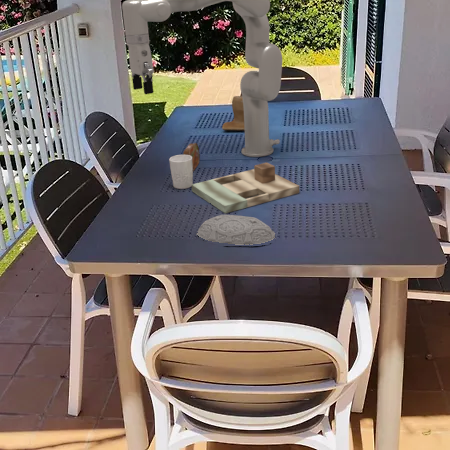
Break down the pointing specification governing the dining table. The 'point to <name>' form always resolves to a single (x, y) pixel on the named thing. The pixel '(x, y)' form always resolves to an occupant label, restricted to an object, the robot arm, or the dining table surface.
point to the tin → (193, 154)
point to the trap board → (243, 191)
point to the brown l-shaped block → (236, 115)
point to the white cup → (181, 171)
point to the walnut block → (264, 172)
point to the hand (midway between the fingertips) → (143, 91)
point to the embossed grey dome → (235, 230)
